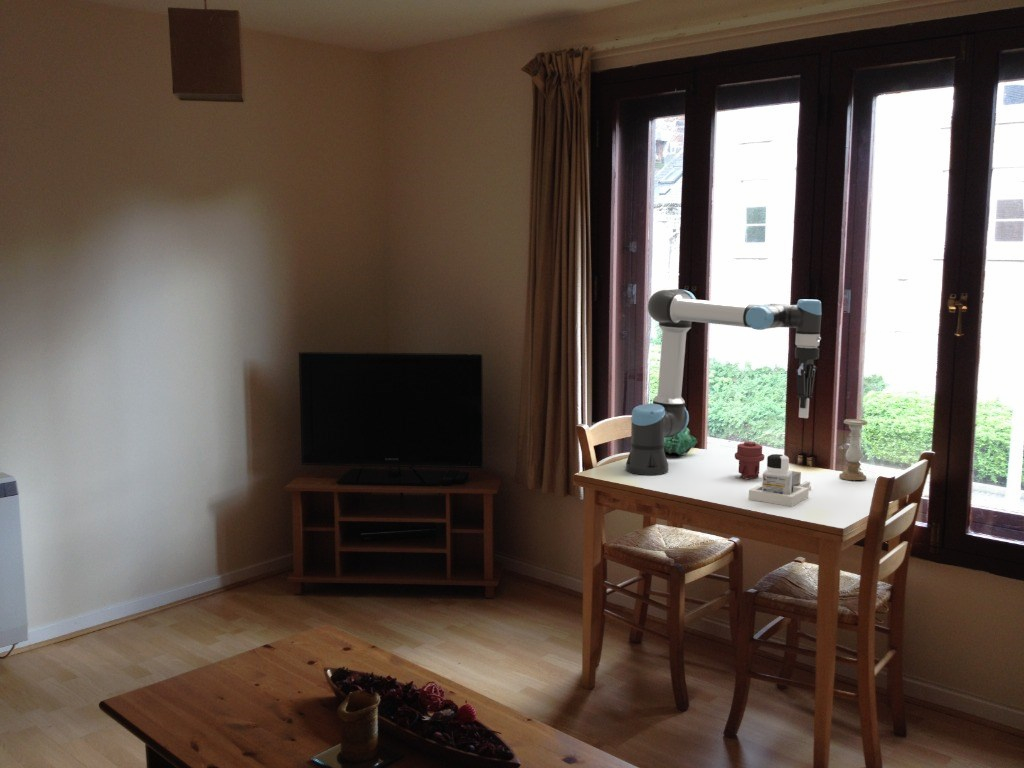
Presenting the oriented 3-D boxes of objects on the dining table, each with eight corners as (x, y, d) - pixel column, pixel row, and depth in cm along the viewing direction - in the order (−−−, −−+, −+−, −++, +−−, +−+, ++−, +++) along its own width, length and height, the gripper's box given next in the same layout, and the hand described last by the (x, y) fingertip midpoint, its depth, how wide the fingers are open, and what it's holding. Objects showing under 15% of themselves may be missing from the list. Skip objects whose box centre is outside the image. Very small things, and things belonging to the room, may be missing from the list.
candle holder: (871, 480, 304) (874, 422, 302) (847, 481, 303) (850, 423, 300) (857, 475, 313) (860, 418, 310) (834, 475, 311) (837, 418, 309)
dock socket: (748, 499, 280) (748, 489, 280) (778, 484, 299) (779, 475, 299) (791, 506, 271) (792, 496, 271) (820, 490, 291) (820, 481, 291)
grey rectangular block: (776, 491, 285) (777, 475, 284) (788, 485, 293) (788, 470, 292) (788, 493, 282) (789, 477, 282) (800, 487, 290) (801, 472, 289)
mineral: (654, 449, 357) (655, 424, 356) (694, 449, 356) (695, 425, 354) (657, 458, 339) (658, 433, 338) (699, 459, 337) (700, 434, 336)
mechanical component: (731, 473, 315) (760, 474, 314) (736, 480, 305) (765, 481, 304) (733, 439, 313) (762, 440, 312) (737, 445, 303) (767, 445, 302)
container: (761, 496, 279) (763, 456, 277) (766, 491, 286) (768, 451, 284) (786, 499, 275) (788, 458, 274) (791, 494, 282) (793, 454, 280)
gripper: (811, 348, 283) (807, 421, 286) (825, 346, 293) (821, 416, 296) (788, 347, 288) (785, 418, 291) (803, 344, 298) (799, 413, 301)
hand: (803, 417), depth 294 cm, fingers closed
